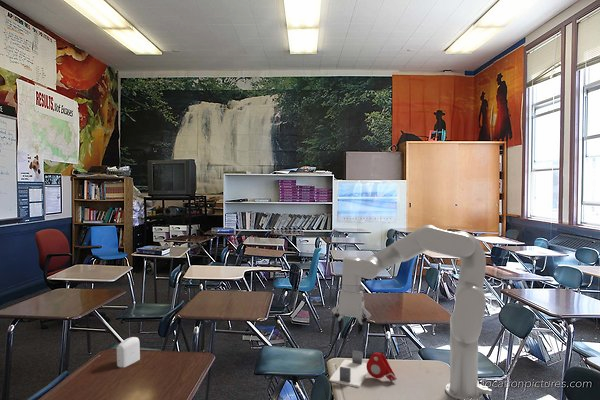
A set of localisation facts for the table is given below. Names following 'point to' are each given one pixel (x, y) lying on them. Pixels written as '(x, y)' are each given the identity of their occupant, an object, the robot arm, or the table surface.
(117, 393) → the table surface
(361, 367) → the board
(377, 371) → the red curved piece
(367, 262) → the robot arm
